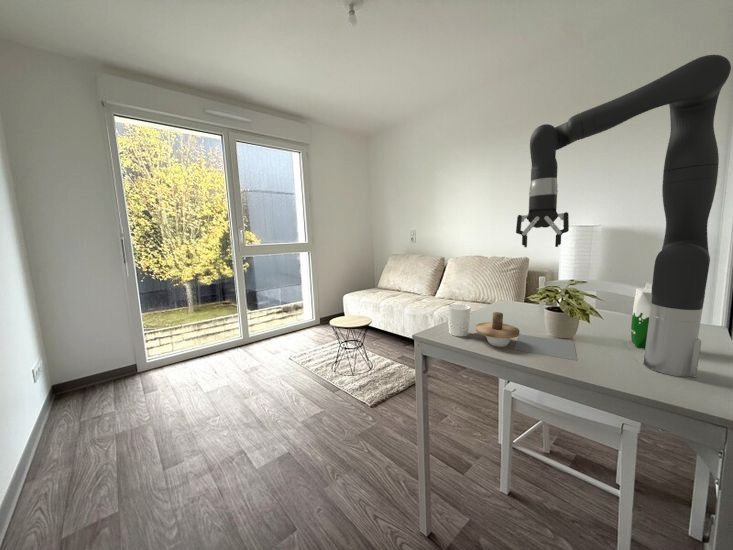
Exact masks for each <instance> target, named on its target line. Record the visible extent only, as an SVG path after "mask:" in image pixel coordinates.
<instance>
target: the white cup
mask: <svg viewBox="0 0 733 550" xmlns="http://www.w3.org/2000/svg"><path fill="white" fill-rule="evenodd" d="M471 308H472V307H471V306H469V305H466V304H463V303H462V304H460V303H455V304H454V303H452V304H449V305H447V323H448V334H449V333H450V334H449V335H451V336H454V337H466V336H468V335H469V330H470V329H469V328H470V322H471V320H470V319H471V311H472V310H471Z"/></svg>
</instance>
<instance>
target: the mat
mask: <svg viewBox="0 0 733 550" xmlns="http://www.w3.org/2000/svg"><path fill="white" fill-rule="evenodd" d="M575 347H576V346H575V343H574V341H570V340H569V341H567V340H562V339H557V338H556V339H555V338H548V337H541V336H533V335H529V334H528V335H527V334H522V333H519V336H517V337H516V342H515V345H514V348H513V350H514V351H520V352H525V353H526V352H527V353H530V354H537V355H543V356H548V357H554V358H560V359H564V360H565V359H566V360H571V361H576V362H577V361H578V357H577V352H576V348H575Z"/></svg>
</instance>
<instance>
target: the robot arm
mask: <svg viewBox="0 0 733 550" xmlns="http://www.w3.org/2000/svg"><path fill="white" fill-rule="evenodd" d="M731 71H732V65H731V62H730V60H729V59H728V58H727V57H726V56H723V55H719V54H708V55H703V56H700V57H698V58H697V57H696V58H695V59H693V60H690V61H689V62H688V63H686V64H683V65H681V66H679V67H677V68H676V69H674V70H672V71H670V72H668V73H666V74H665V75H663V76H661V77H659V78H657V79H655V80H653V81H652V82H648V84H647V83H646V84H645V85H643V86H641V87H639V88H637V89H634V90H632V91H631V92H627V93H626V94H623V95H621V96H619V97H617V98H614V99H612V100H609V101H607V102H605V103H602V104H599V105H597V106H594V107H592V108H589V109H586V110H584V111H582V112H581V111H580V113H577V114H574V115H573V116H571V117H569V119H568V121H566V122H564V123H562V124H560V125H557V126H554V125H552V124H549V123H548V124H547V123H546V124H545V123H544V124H541V125H539V126H537V127H536V128H535V129H534V130H533V132H531V133H532V134H531V136H530V139H529V151H530V153H529V154H530V159H531V169H530V184H529V189H528V191H529V192H528V196H529V197H528V213H527V215H526V214H525V215H523V214H518V215H517V216H516V217H517V218H516V225H515V226H516V228H515V234H518V235H520V236H521V245H522V246H523V247H524V248H527V247H528V234H529V232H530V231H531V230H532V229H533V228H536V229H538V228H540V229H541V228H549V227H550V228H552V229H553V231H554V233H556V234H555V240H554V241H555V243H554V244H555V247H556V248H558V247H559V246H560V245H561V244H562V235H563V234H565V233H568V232H569V229H570V227H569V225H570V223H569V217H570V216H569V212H567V211H566V212H564V213H563V212H561V213H558V212H557V207H558V206H557V205H558V204H557V202H558V192H559V190H558V185H559V184H558V161H557V158H556V154H557V151H558V150H560V149H561V150H562V148H565V147H567V146H569V145H571V144H573V143H575V142H577V141H580V140H583V139H586V138H589V137H592V136H595V135H597V134H601V133H603V132H605V131H608V130H610V129H613V128H614V127H617V126H618V125H619V126H620V124H623V123H625V122H626V121H629V120H631V119H633V118H635V117H637V116H639V115H641V114H644V113H646V112H649V111H651V110H654V109H658V108H659V107H663V106H666V105H668V106H669V114H670V115H669V116H670V117H669V119H670V135H669V139H668V144H667V148H666V153H665V159H664V165H663V174H662V175H663V176H662V194H661V195H662V203H663V210H664V216H665V233H664V239H663V244H662V248H661V250H660V251H659V252H658V254H657V255H656V257H655V260H654V266H653V274H652V283H651V289H652V300H651V309H650V317H649V324H648V332H647V340H646V347H645V349H644V355H643V365H644V366H645V367H646V368H648V369H649V370H653V371H654V372H657V373H661V374H664V375H669V376H675V377H692V376H696V377H697V372H698V366H699V360H700V354H701V347H702V339H700V338H699V335H700V334H699V333H700V328H701V327H700V326H701V321H702V316H703V315H702V313H703V307H704V303H705V297H706V289H707V282H708V276H709V269H710V265H711V264H710V263H711V256H710V252H709V245H708V223H709V222H708V221H709V217H710V213H711V209H712V206H713V203H714V199H715V195H716V190H717V189H716V188H717V183H718V177H719V175H718V174H719V162H720V161H719V157H720V155H719V148H718V143H717V142H718V141H717V138H716V134H715V127H714V124H715V122H714V121H715V116H716V115H715V114H716V111H717V104H718V100H719V95H720V93H721V90H722V88H723V87H724V85H725V84H726V82H727V80H728V79H729V77H730V74H731ZM558 218H560V221H562V222H563V223H562V224H563V225H562V226H563V228H562V229H560V228H559V227H558V226H557V225H556V223H555V221H556V220H557V219H558ZM526 220H527V221H528V223H529V224H528V225H527V227H526V228H525V229H524V230H522V223H524V222H525V221H526Z"/></svg>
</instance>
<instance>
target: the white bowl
mask: <svg viewBox="0 0 733 550" xmlns="http://www.w3.org/2000/svg"><path fill="white" fill-rule="evenodd" d="M484 336H485V335H484ZM485 338H486V340H487V342H488V343H489V345H491V346H494V347H500V348H502V347H503V348H505V347H507V346H508V344H509V343H510V341H511V338H494V337H489V336H485Z"/></svg>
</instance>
